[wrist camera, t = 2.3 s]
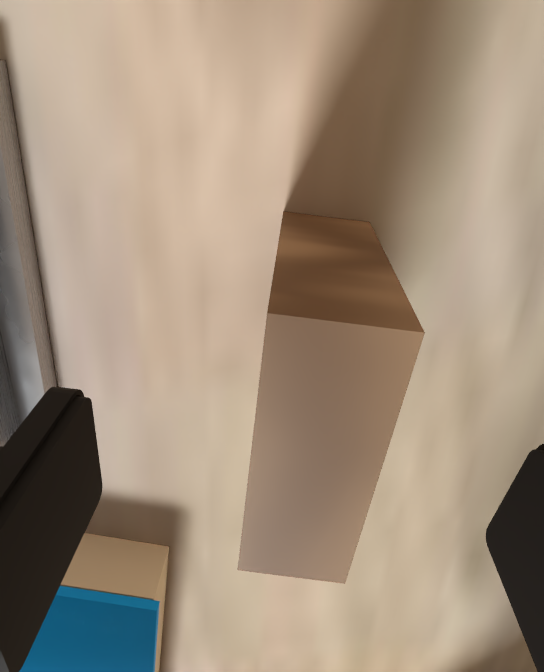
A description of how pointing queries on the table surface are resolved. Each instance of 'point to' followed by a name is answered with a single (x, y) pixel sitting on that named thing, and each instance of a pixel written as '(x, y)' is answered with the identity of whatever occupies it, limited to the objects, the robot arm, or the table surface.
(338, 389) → the door panel
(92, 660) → the book
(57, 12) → the table surface
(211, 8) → the table surface
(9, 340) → the floor track
